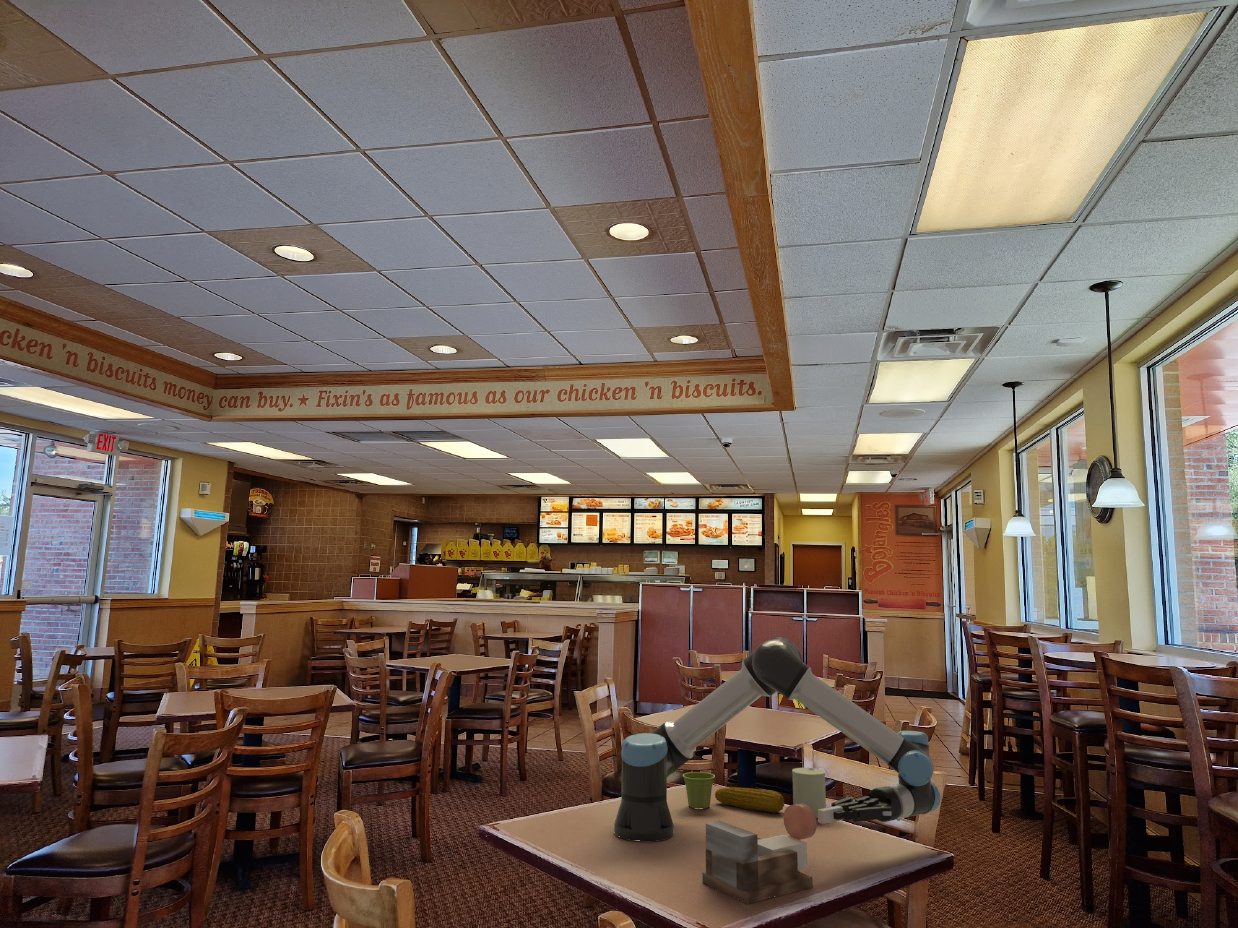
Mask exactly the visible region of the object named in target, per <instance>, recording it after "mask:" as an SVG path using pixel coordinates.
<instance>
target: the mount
mask: <svg viewBox="0 0 1238 928" xmlns="http://www.w3.org/2000/svg"><path fill="white" fill-rule="evenodd" d="M760 839H762V838H761V837H758V834H757V833H754V832H752V831H749V830H747V829H744V828H741V827H739V826H736V825H732V824H730V823H727V822H726V821H722V820H717V821H716V820H715V821H711V822H706V823H705V871H703V872H702V873H701V875H702V882H701V883H703V884H704V883H705V885H706V884H707V885H706V886H708V885H709V886H708V887H711V886H712V887H711V888H713V889H715V888H716V889H715V890H717V889H718V890H717V891H719V890H720V891H719V892H721V891H722V892H721V893H723V892H724V893H723V894H725V893H726V894H725V895H727V894H728V895H727V896H729V895H730V896H729V897H731V896H732V897H731V898H733V897H735V898H736V900H738V899H739V900H738V901H740V902H742V901H743V902H742V903H744V902H745V903H744V904H746V905H750V904H749V903H751V904H753V903H752V902H755V903H757V902H756V901H758V902H762V901H765V900H764V899H766V900H768V899H767V898H769V897H774V896H778V897H780V896H784V895H789V894H793V893H796V892H800V891H803V890H808V889H812V888H814V886H813V885H814V883H813V880H814V879H813V876H812V875H809V874H806V873H804V872H801V871H800V870H799V871H798V860H797V852H796V851H793V850H786V851H781V852H776V853H772V854H767V855H763V856H758V840H760ZM792 892H793V893H792ZM735 898H734V899H735ZM774 898H775V897H774ZM761 900H762V901H761Z"/></svg>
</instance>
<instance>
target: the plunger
mask: <svg viewBox="0 0 1238 928" xmlns="http://www.w3.org/2000/svg"><path fill="white" fill-rule="evenodd" d="M783 811H784V812H783V817H782V819H783V825H784V828H785V831H786V833H787V834H788V835H786V834H780V835H775V836H771V837H766V838H761V839H760V840H758V856H763V855H767V854H772V853H776V852H781V851H786V850H793V851H796V852H797V860H798V871H799V872H800V871H803V870H807V869H808V843H807V842H806V841H803V840H805V839H810V838H812V837H814V835H815V834H816V831H817V819H816V818H815V815H814V813H813V811H812V809H811V808H810V807H809V806H808V805H806V804H803V803H801V804H795V805H793V804H790V805H788V806H787V807H785V810H783Z"/></svg>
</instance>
